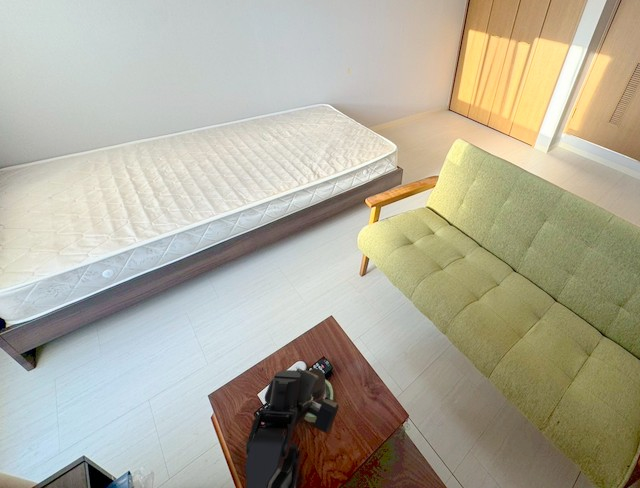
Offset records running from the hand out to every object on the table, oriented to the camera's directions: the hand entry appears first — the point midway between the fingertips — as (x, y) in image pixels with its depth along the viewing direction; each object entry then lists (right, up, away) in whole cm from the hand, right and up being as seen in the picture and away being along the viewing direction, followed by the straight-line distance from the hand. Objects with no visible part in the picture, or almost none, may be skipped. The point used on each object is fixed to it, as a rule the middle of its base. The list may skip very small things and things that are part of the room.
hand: (314, 388), depth 85 cm
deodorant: (-1, -8, +6) cm, 10 cm away
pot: (-1, -8, +6) cm, 11 cm away
